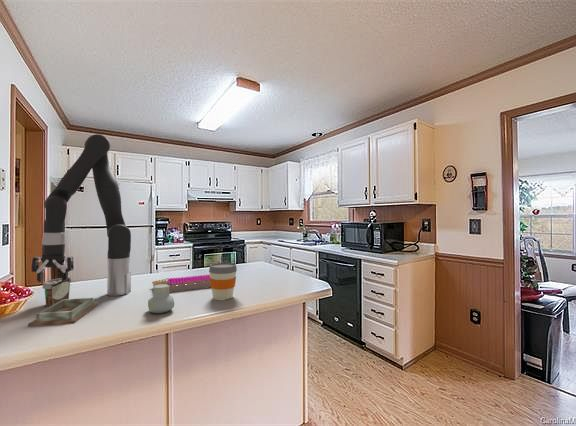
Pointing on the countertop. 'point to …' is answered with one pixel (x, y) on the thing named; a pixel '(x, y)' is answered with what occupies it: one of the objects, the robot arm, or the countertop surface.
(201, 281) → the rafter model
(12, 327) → the countertop surface
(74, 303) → the holder
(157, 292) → the pale grey rounded vessel
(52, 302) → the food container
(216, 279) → the reusable coffee cup
